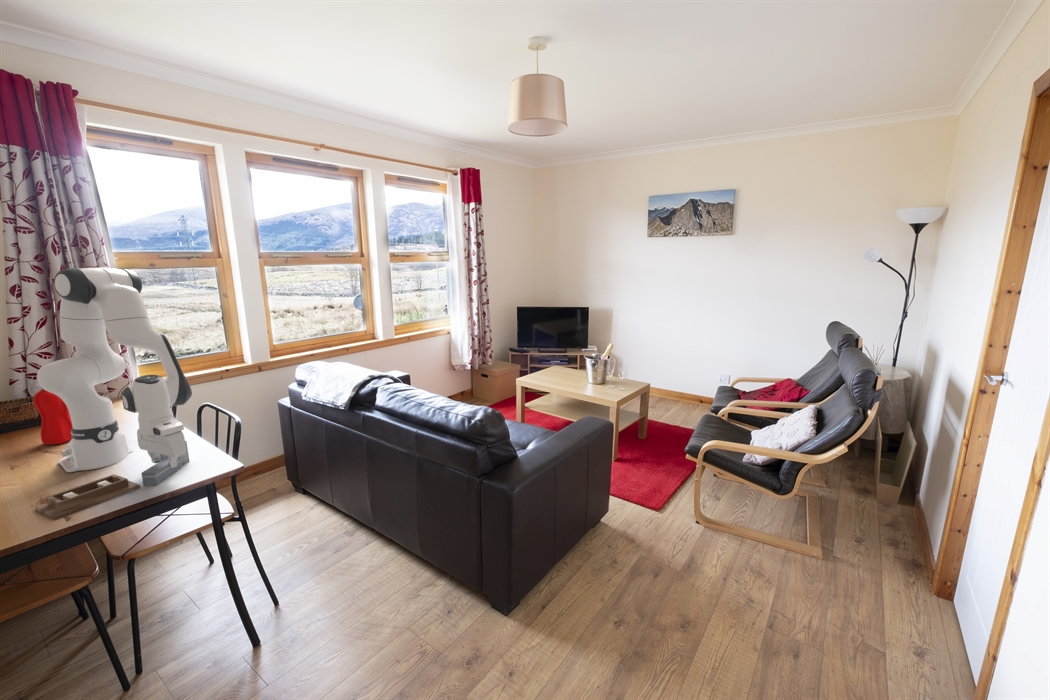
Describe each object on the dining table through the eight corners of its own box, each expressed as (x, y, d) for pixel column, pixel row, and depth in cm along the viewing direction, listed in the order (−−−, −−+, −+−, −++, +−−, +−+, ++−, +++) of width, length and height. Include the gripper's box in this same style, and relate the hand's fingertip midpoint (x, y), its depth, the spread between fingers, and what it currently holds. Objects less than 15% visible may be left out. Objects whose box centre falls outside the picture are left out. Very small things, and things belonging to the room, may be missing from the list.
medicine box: (186, 460, 163) (183, 437, 161) (190, 463, 160) (186, 440, 159) (159, 467, 157) (155, 444, 155) (162, 471, 154) (158, 447, 153)
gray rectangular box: (143, 487, 143) (141, 472, 142) (169, 470, 155) (167, 456, 154) (157, 486, 144) (154, 472, 143) (182, 470, 156) (180, 456, 155)
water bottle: (87, 435, 187) (76, 377, 183) (58, 446, 177) (45, 384, 172) (68, 435, 188) (56, 376, 184) (37, 445, 178) (24, 383, 173)
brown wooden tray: (35, 510, 130) (33, 498, 129) (120, 480, 148) (118, 470, 147) (55, 519, 125) (52, 508, 124) (140, 487, 143) (138, 477, 142)
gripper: (127, 424, 148) (135, 463, 150) (164, 432, 140) (172, 473, 142) (150, 418, 153) (157, 456, 156) (186, 425, 145) (193, 465, 148)
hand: (164, 464), depth 149 cm, fingers open, 8 cm apart
